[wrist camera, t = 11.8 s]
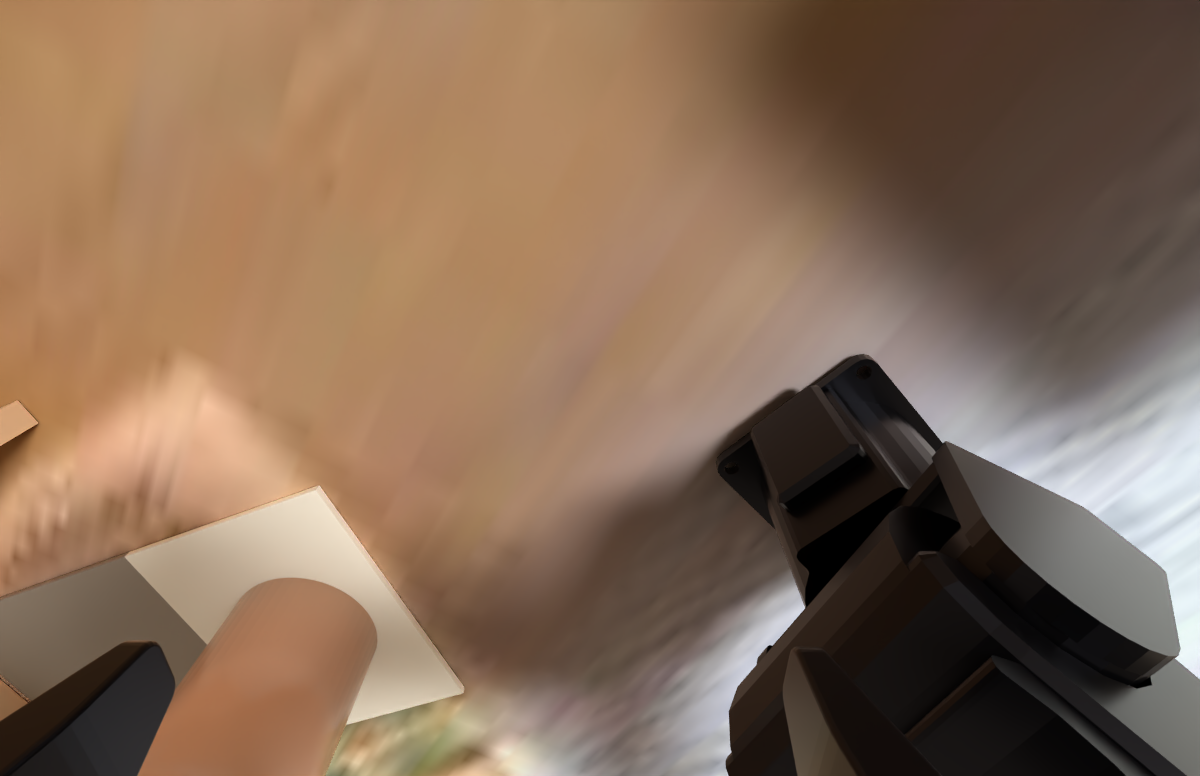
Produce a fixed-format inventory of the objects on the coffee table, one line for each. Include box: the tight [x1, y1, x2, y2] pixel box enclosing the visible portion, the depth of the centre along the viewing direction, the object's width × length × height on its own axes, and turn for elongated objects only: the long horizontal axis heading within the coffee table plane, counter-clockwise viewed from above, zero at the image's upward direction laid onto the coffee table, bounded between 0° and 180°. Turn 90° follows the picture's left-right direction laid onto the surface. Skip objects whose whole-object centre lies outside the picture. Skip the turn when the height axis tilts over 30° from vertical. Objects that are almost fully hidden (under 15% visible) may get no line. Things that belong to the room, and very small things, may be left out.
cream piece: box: [0, 400, 465, 725], centre depth 22 cm, size 21×19×9 cm
